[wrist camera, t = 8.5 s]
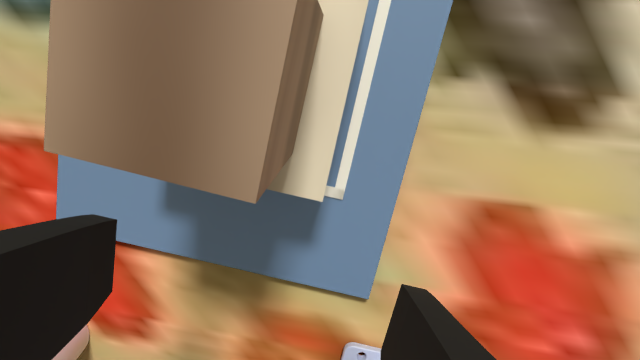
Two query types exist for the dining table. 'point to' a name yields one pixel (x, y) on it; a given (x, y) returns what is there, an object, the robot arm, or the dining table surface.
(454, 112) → the dining table surface
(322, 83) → the birch block
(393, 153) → the board
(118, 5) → the walnut block
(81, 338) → the smoothie
